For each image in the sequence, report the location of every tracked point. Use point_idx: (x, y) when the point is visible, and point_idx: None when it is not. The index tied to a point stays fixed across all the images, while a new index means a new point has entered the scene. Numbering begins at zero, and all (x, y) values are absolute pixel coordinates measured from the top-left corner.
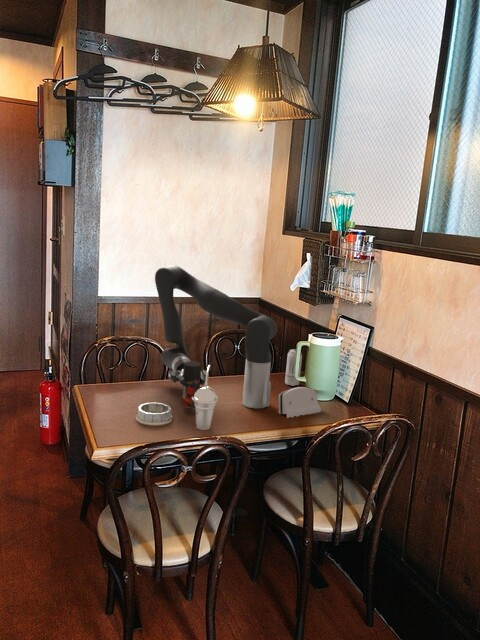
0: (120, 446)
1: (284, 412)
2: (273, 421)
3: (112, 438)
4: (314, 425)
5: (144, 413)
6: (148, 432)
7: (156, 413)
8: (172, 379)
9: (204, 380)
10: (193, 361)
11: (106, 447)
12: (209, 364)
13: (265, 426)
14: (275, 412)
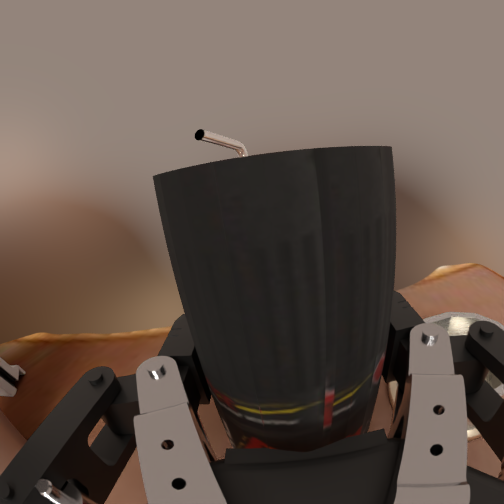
0: (451, 269)
1: (16, 372)
2: (62, 367)
3: (481, 283)
4: (28, 340)
5: (475, 315)
6: (432, 313)
7: (441, 318)
8: (495, 402)
9: (185, 318)
10: (218, 161)
11: (468, 265)
12: (200, 129)
13: (100, 351)
14: (13, 402)
